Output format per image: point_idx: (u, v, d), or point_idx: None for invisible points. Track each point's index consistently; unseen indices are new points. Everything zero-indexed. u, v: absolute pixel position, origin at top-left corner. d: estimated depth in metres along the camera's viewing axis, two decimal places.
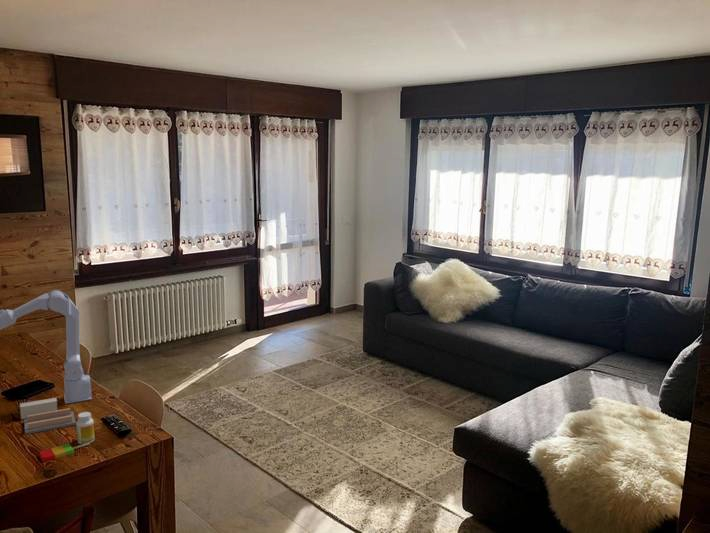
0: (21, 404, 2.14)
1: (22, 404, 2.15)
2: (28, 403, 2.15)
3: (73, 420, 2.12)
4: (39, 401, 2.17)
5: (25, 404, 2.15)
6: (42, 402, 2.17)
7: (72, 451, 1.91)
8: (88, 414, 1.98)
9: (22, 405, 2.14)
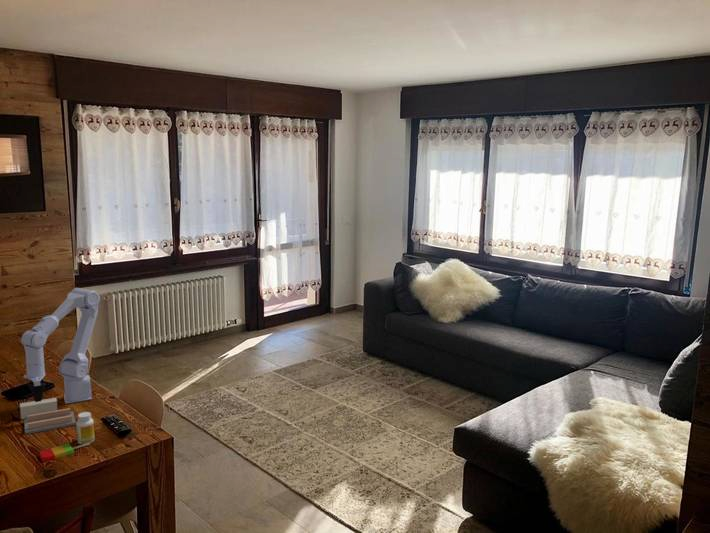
0: (21, 404, 2.14)
1: (22, 404, 2.14)
2: (28, 403, 2.15)
3: (73, 420, 2.12)
4: (39, 401, 2.17)
5: (25, 404, 2.15)
6: (42, 402, 2.17)
7: (72, 451, 1.91)
8: (88, 414, 1.98)
9: (22, 405, 2.14)
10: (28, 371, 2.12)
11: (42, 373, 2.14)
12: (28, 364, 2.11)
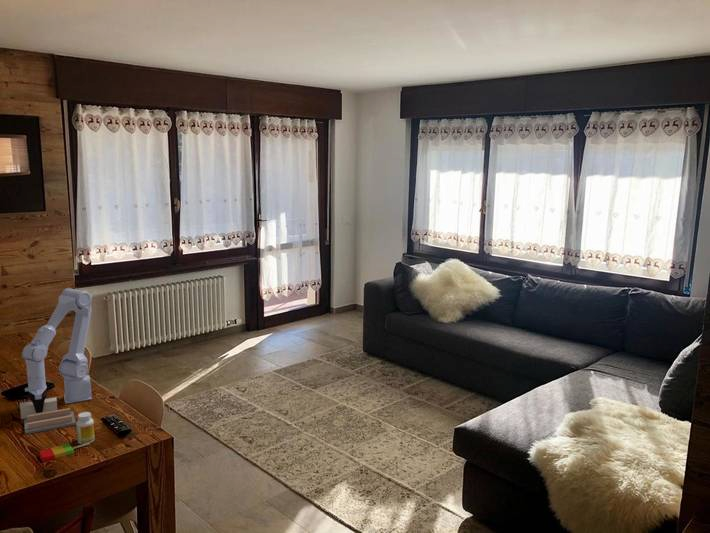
0: (21, 404, 2.14)
1: (22, 404, 2.14)
2: (28, 403, 2.15)
3: (73, 420, 2.12)
4: None
5: (25, 404, 2.15)
6: None
7: (72, 451, 1.91)
8: (88, 414, 1.98)
9: (22, 405, 2.14)
10: (29, 384, 2.13)
11: (43, 386, 2.15)
12: (29, 377, 2.12)
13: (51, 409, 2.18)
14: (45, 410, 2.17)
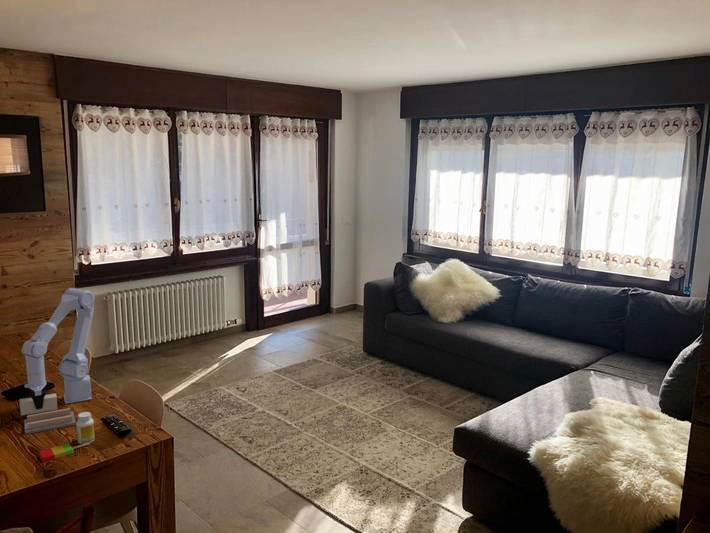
0: (21, 400, 2.14)
1: (22, 400, 2.14)
2: (28, 399, 2.15)
3: (73, 420, 2.12)
4: None
5: (25, 400, 2.14)
6: None
7: (72, 451, 1.91)
8: (88, 414, 1.98)
9: (22, 401, 2.13)
10: (29, 380, 2.12)
11: (43, 382, 2.15)
12: (29, 374, 2.12)
13: (51, 405, 2.18)
14: (45, 406, 2.17)
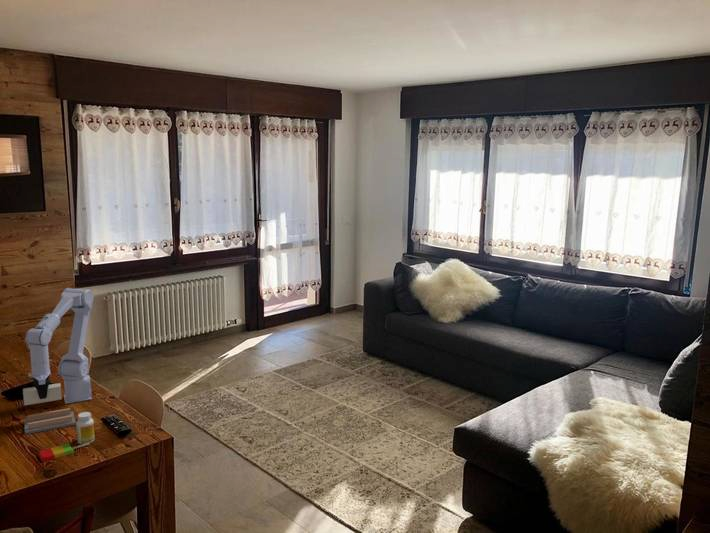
0: (24, 389, 2.09)
1: (25, 389, 2.09)
2: (31, 388, 2.10)
3: (73, 420, 2.12)
4: None
5: (28, 389, 2.09)
6: None
7: (72, 451, 1.91)
8: (88, 414, 1.98)
9: (25, 390, 2.09)
10: (33, 369, 2.08)
11: (47, 371, 2.10)
12: (35, 363, 2.07)
13: (55, 395, 2.13)
14: (49, 396, 2.12)
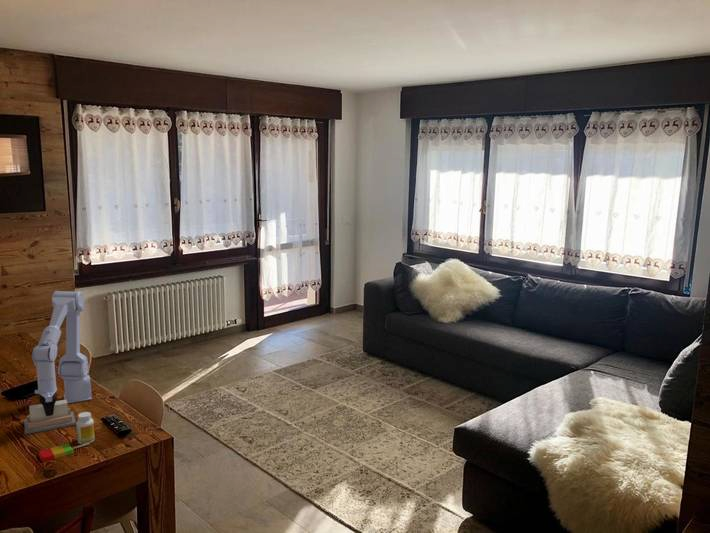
0: (30, 406, 2.07)
1: (31, 406, 2.07)
2: (38, 405, 2.08)
3: (73, 420, 2.12)
4: None
5: (35, 406, 2.07)
6: None
7: (71, 451, 1.91)
8: (88, 414, 1.98)
9: (31, 407, 2.06)
10: (39, 386, 2.05)
11: (54, 388, 2.07)
12: (43, 380, 2.04)
13: (61, 412, 2.10)
14: (55, 413, 2.09)
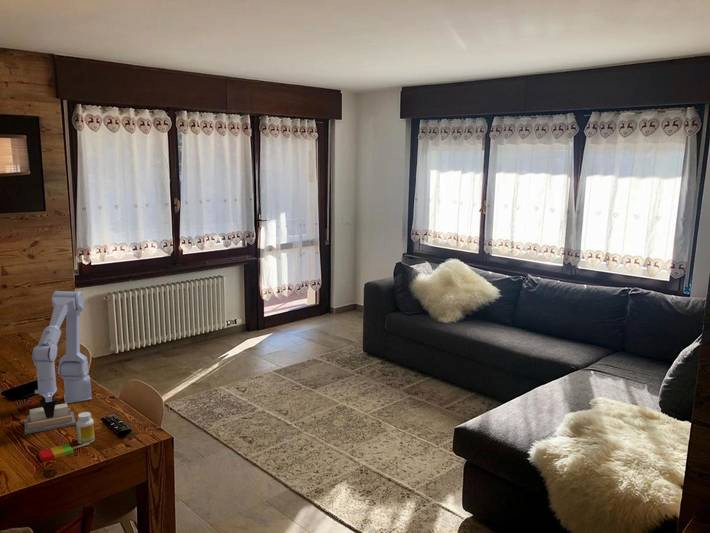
0: (31, 410, 2.07)
1: (32, 410, 2.07)
2: (38, 409, 2.08)
3: (73, 420, 2.12)
4: None
5: (35, 410, 2.07)
6: None
7: (71, 451, 1.91)
8: (88, 414, 1.98)
9: (32, 411, 2.06)
10: (39, 386, 2.05)
11: (54, 388, 2.07)
12: (43, 380, 2.04)
13: (62, 416, 2.11)
14: (56, 417, 2.10)
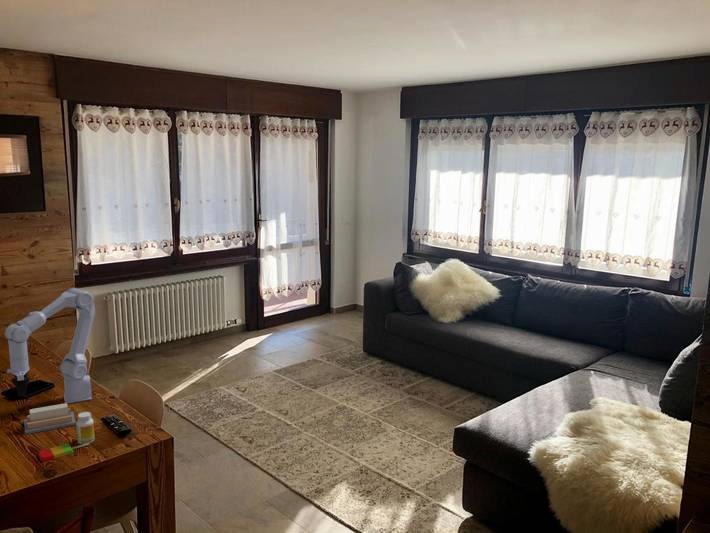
0: (31, 410, 2.07)
1: (32, 410, 2.07)
2: (38, 409, 2.08)
3: (73, 420, 2.12)
4: (49, 407, 2.10)
5: (35, 410, 2.07)
6: (52, 408, 2.09)
7: (71, 451, 1.91)
8: (88, 414, 1.98)
9: (32, 411, 2.06)
10: (12, 365, 2.10)
11: (26, 367, 2.12)
12: (10, 358, 2.09)
13: (62, 416, 2.11)
14: (56, 417, 2.10)
